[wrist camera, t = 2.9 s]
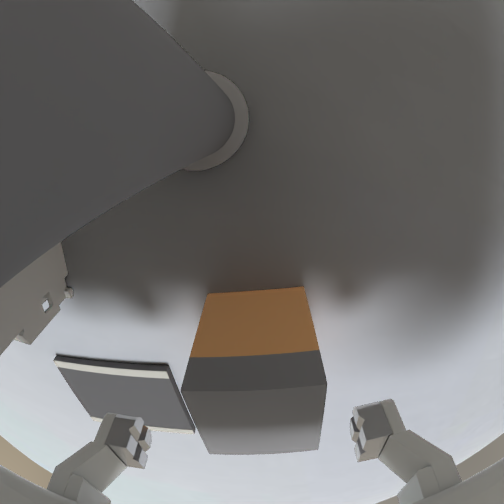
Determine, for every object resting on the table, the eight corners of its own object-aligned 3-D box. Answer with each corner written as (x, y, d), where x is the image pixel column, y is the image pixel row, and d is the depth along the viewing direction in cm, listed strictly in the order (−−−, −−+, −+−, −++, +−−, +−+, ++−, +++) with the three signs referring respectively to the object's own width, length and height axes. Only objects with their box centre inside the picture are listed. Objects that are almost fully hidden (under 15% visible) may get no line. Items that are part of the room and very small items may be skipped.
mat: (168, 365, 16) (166, 371, 15) (195, 428, 18) (194, 434, 18) (56, 355, 16) (53, 360, 16) (95, 415, 19) (93, 420, 19)
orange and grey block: (303, 286, 13) (327, 384, 8) (303, 356, 15) (318, 449, 10) (207, 293, 14) (180, 390, 8) (222, 361, 16) (209, 453, 10)
